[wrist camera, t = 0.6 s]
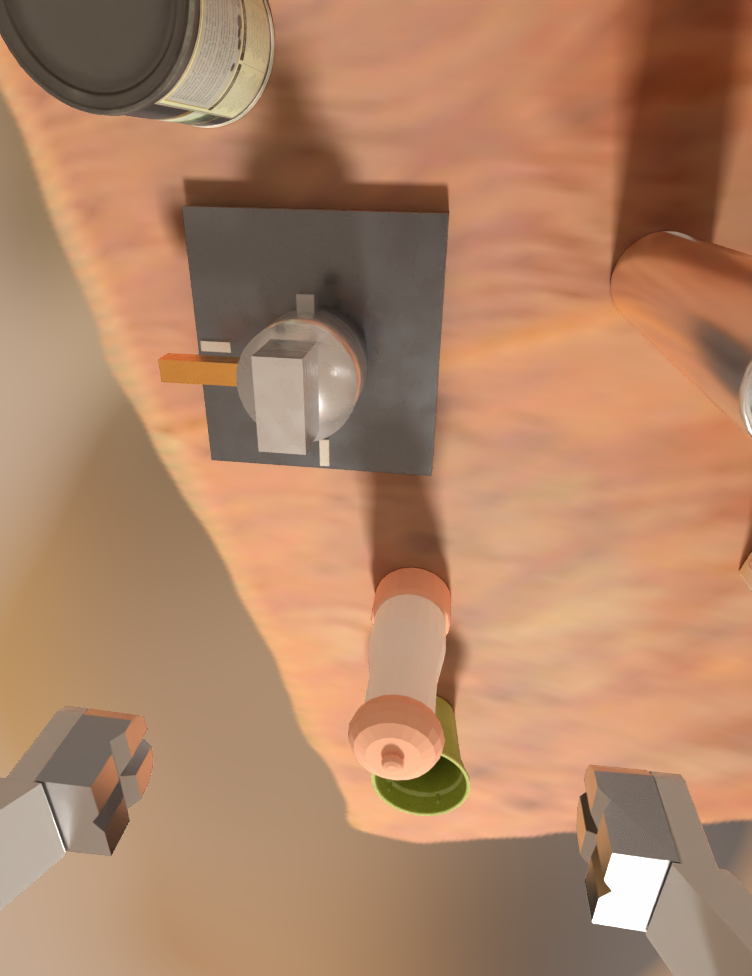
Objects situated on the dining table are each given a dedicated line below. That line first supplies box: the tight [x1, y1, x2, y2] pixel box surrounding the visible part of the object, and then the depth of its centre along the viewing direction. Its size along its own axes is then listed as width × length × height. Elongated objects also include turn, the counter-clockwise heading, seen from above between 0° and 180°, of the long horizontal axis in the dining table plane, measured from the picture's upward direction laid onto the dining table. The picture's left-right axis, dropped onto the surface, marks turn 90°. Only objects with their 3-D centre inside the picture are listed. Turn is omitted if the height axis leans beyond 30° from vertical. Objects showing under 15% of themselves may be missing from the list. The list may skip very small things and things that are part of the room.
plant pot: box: [371, 696, 470, 816], centre depth 62 cm, size 9×9×9 cm
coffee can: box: [0, 0, 275, 128], centre depth 34 cm, size 10×10×14 cm
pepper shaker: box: [348, 567, 451, 780], centre depth 51 cm, size 7×7×19 cm
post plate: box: [182, 205, 449, 476], centre depth 47 cm, size 20×19×5 cm
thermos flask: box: [610, 231, 752, 440], centre depth 33 cm, size 6×6×25 cm
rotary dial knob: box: [158, 291, 367, 455], centre depth 41 cm, size 14×10×9 cm
